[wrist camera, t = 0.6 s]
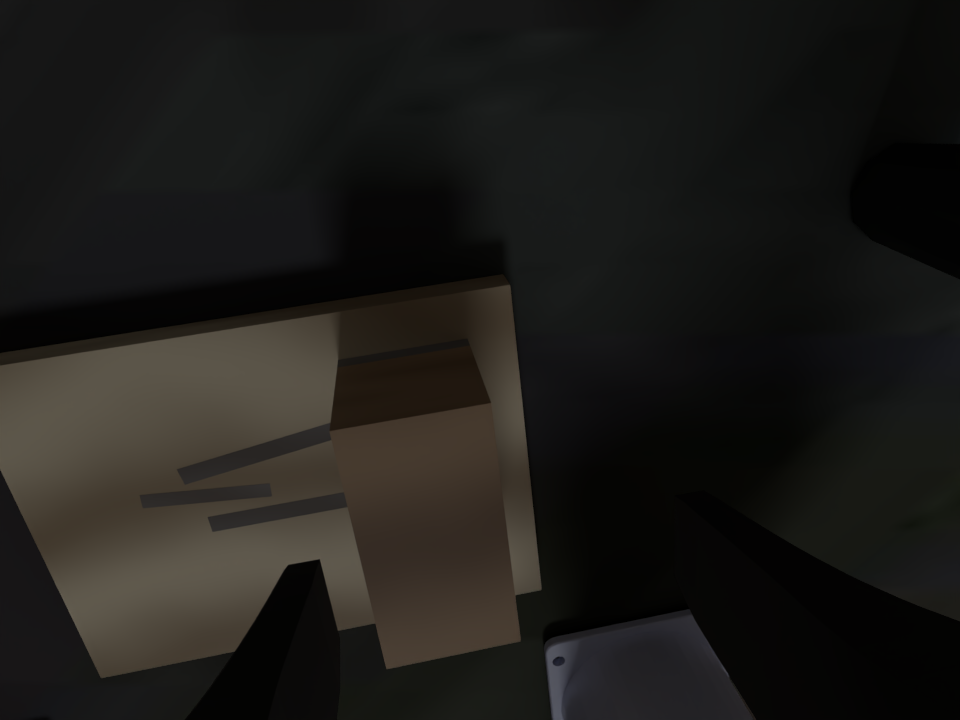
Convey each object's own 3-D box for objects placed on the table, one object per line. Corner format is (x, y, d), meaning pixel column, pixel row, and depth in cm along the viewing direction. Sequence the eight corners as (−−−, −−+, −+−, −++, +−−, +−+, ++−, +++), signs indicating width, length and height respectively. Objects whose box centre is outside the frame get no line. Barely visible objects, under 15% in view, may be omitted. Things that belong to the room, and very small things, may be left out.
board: (534, 568, 26) (541, 590, 25) (113, 651, 25) (101, 678, 24) (503, 274, 21) (510, 284, 20) (-24, 356, 20) (-47, 372, 19)
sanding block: (495, 544, 24) (520, 641, 20) (383, 565, 23) (386, 669, 19) (467, 338, 21) (490, 402, 16) (338, 360, 20) (329, 431, 16)
